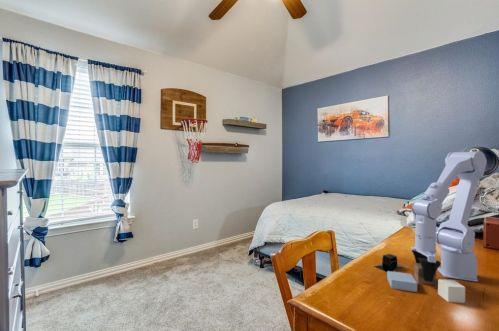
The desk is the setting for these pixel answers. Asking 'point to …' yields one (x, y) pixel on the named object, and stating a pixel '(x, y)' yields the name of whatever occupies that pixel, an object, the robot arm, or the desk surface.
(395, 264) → the black rectangular box
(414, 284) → the blue slab
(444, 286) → the cream cube
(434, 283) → the walnut cube
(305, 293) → the desk surface
